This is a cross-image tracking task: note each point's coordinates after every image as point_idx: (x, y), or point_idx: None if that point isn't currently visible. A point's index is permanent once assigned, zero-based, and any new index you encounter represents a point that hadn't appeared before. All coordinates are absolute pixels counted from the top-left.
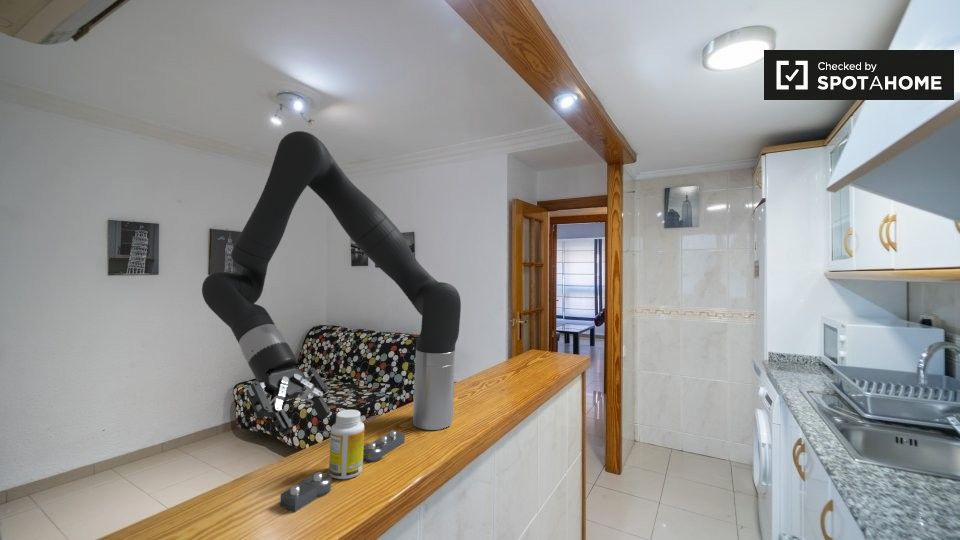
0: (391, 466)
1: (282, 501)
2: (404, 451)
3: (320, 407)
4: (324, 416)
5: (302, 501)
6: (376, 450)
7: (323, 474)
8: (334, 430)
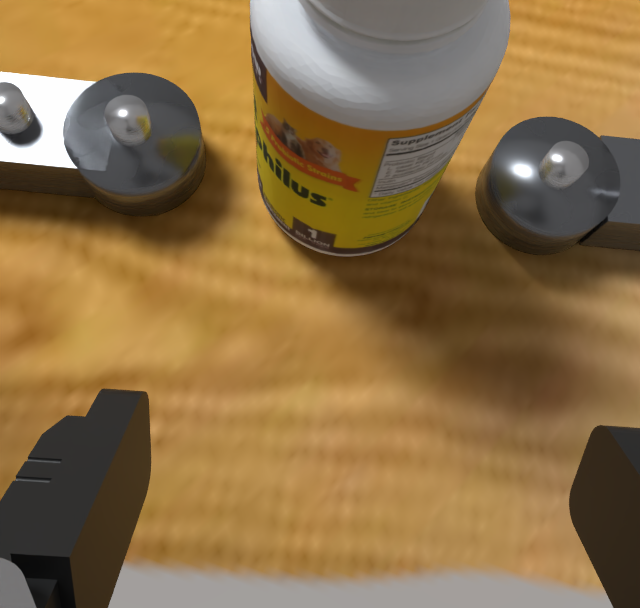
0: (195, 33)
1: None
2: (10, 48)
3: (116, 500)
4: (149, 432)
5: None
6: (155, 90)
7: (508, 179)
8: (508, 31)
